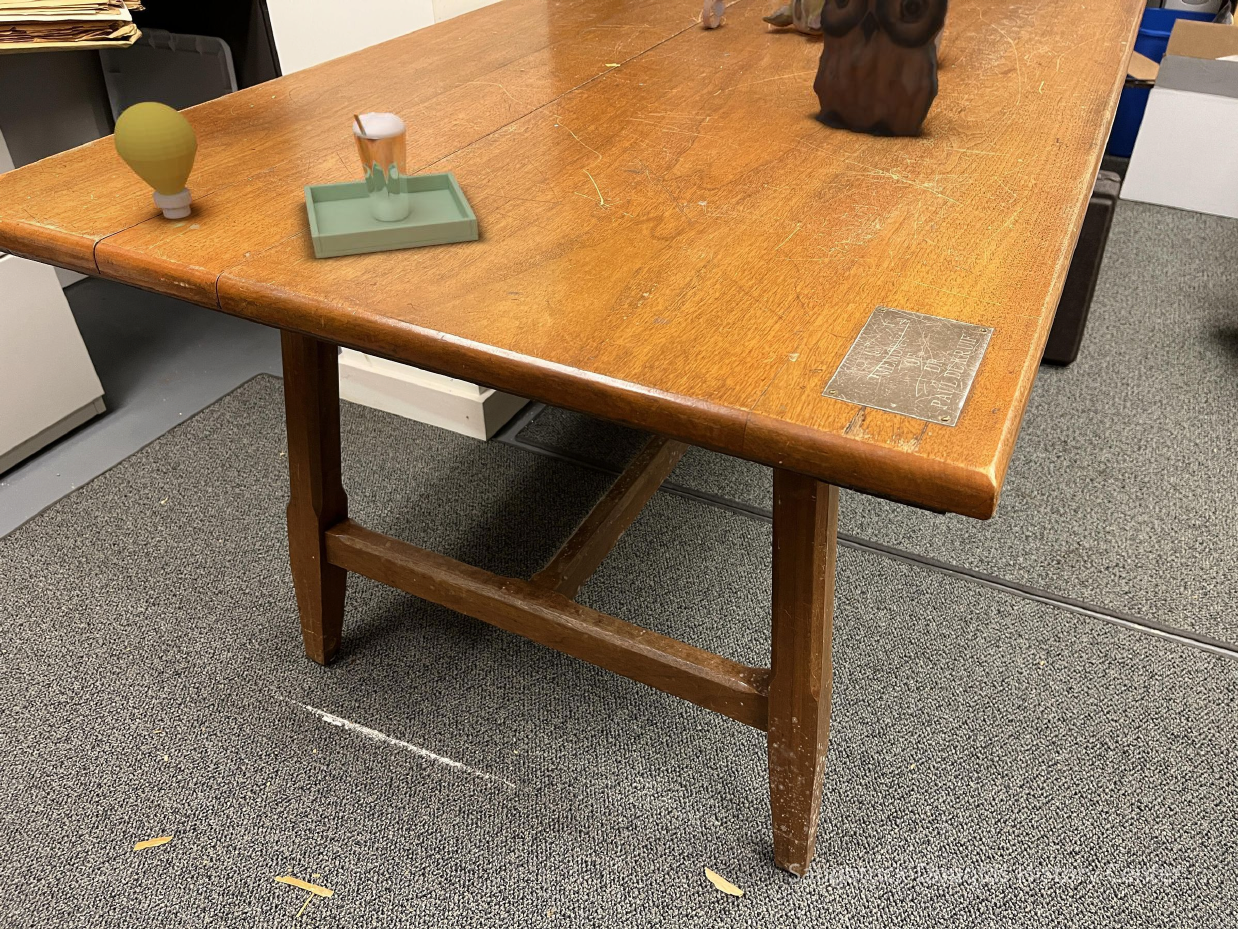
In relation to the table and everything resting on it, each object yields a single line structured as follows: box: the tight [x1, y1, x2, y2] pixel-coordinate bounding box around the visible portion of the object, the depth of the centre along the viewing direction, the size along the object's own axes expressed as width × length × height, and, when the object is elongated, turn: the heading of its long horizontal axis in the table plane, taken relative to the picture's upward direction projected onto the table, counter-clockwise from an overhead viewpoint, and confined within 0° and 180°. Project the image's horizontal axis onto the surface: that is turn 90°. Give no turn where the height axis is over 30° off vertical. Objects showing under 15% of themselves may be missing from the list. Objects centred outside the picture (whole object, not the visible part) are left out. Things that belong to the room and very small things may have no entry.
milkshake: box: [352, 111, 409, 222], centre depth 81 cm, size 4×5×10 cm
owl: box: [812, 0, 949, 137], centre depth 105 cm, size 13×13×20 cm
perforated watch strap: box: [701, 0, 727, 29], centre depth 148 cm, size 3×5×5 cm, turn 148°
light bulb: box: [113, 101, 198, 220], centre depth 82 cm, size 7×7×10 cm
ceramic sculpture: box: [762, 0, 825, 36], centre depth 146 cm, size 11×9×15 cm
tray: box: [302, 171, 479, 260], centre depth 84 cm, size 14×12×2 cm
